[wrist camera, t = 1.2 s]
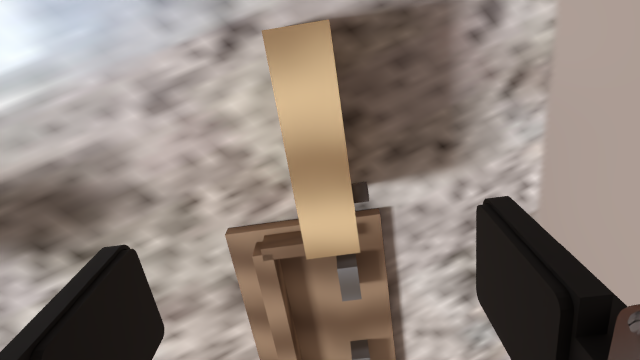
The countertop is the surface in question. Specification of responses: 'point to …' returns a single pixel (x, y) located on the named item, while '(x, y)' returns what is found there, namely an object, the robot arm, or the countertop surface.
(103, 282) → the robot arm
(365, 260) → the cabinet base
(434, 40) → the countertop surface
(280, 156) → the countertop surface
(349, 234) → the door panel
